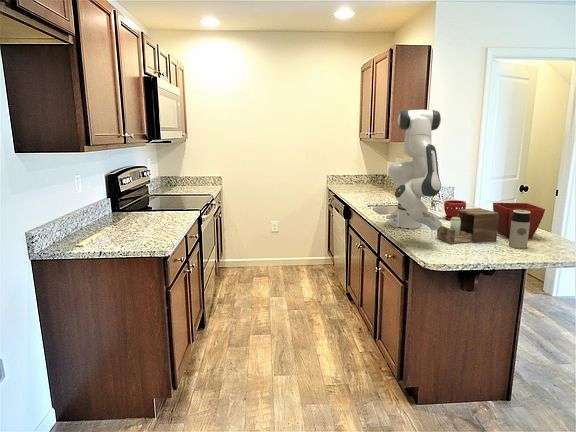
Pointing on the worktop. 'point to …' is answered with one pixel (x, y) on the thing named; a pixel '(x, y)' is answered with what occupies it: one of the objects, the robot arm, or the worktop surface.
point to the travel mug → (519, 229)
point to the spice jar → (456, 225)
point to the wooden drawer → (453, 235)
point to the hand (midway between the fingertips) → (434, 229)
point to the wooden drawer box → (479, 224)
